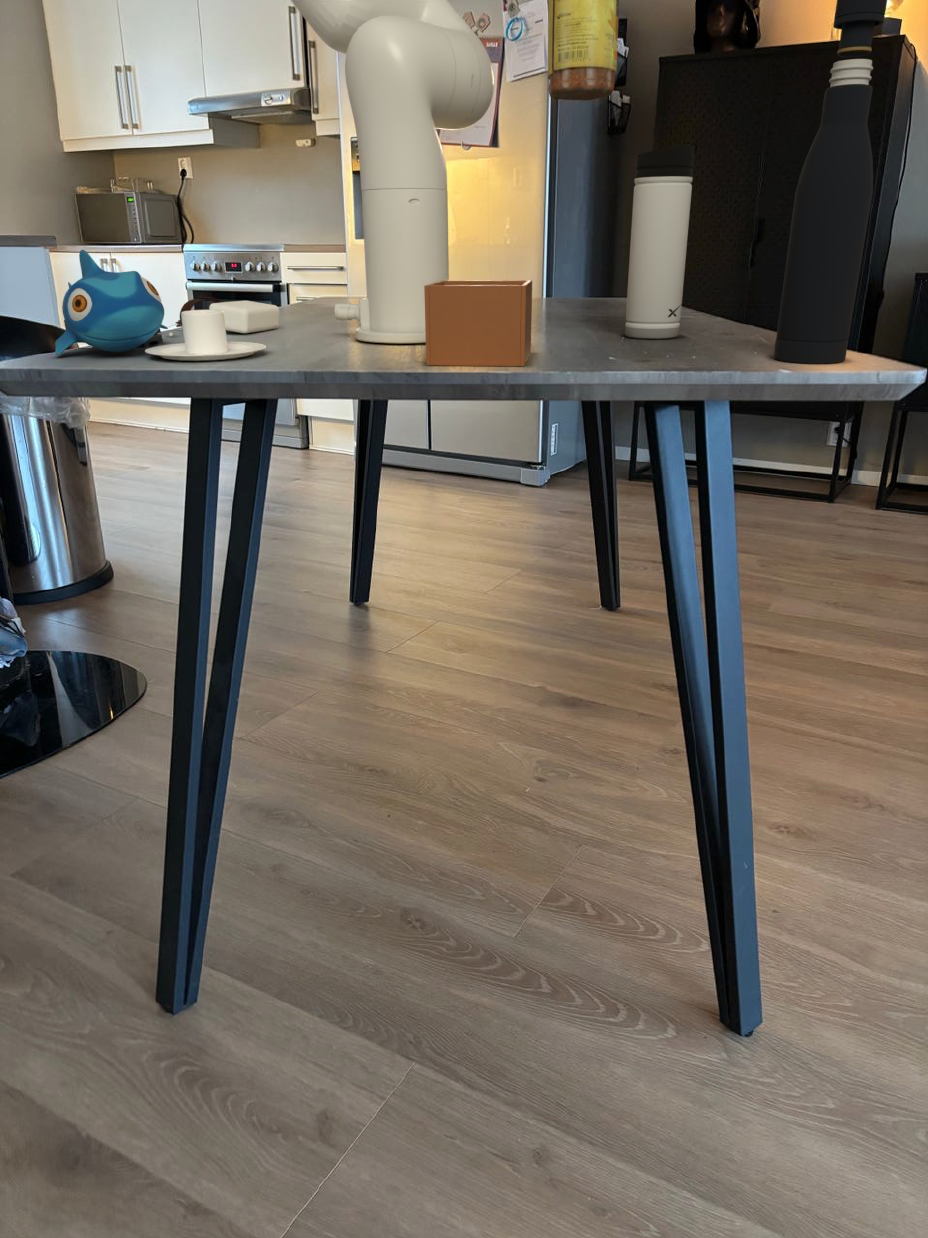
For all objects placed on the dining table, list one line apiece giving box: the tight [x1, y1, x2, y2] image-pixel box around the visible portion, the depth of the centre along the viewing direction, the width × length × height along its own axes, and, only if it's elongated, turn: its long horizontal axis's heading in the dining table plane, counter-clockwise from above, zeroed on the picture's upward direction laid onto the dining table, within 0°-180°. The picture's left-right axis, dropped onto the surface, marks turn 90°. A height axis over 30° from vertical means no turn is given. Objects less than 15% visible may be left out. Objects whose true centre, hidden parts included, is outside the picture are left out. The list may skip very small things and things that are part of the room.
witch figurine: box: [168, 319, 183, 338], centre depth 112 cm, size 5×12×2 cm, turn 175°
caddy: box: [424, 279, 533, 367], centre depth 84 cm, size 9×9×7 cm
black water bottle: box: [773, 0, 888, 365], centre depth 77 cm, size 6×6×30 cm
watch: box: [179, 296, 223, 324], centre depth 111 cm, size 8×5×4 cm
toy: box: [54, 249, 169, 356], centre depth 90 cm, size 12×18×10 cm, turn 39°
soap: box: [208, 300, 280, 334], centre depth 112 cm, size 9×6×3 cm, turn 163°
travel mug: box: [624, 142, 699, 340], centre depth 98 cm, size 6×7×20 cm
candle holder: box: [144, 309, 267, 362], centre depth 88 cm, size 12×12×4 cm
